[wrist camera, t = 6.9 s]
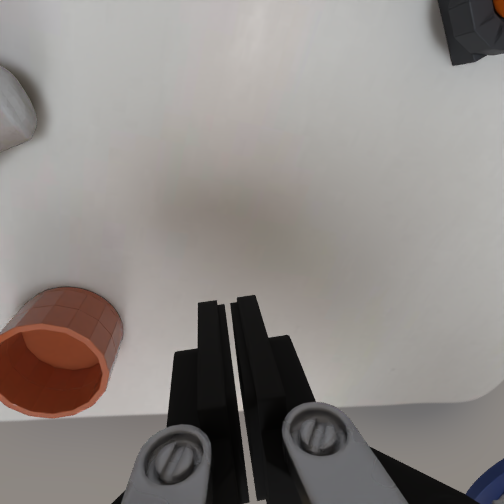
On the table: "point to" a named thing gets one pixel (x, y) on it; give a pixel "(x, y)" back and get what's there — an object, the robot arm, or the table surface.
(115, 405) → the table surface
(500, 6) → the button
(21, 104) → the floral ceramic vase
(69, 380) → the cup
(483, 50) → the scale
